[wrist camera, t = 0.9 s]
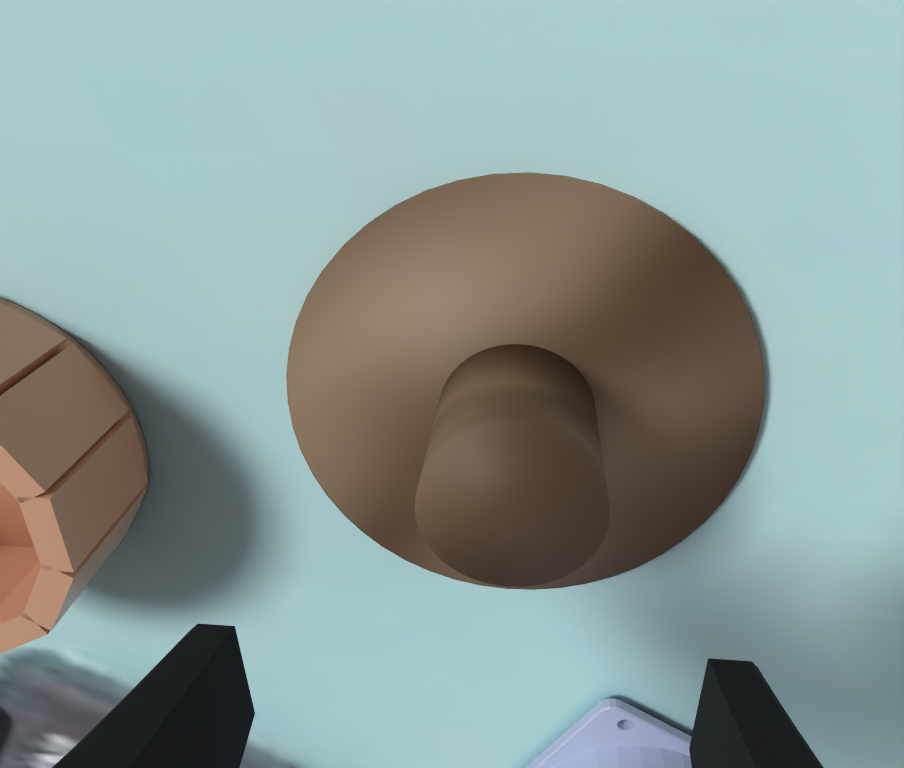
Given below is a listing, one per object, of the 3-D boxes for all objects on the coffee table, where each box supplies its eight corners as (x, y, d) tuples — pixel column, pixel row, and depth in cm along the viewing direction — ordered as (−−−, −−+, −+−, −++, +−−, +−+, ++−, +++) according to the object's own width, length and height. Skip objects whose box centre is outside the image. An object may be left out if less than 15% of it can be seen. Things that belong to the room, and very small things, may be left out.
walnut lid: (867, 343, 17) (972, 451, 13) (574, 631, 22) (581, 770, 18) (431, 59, 15) (390, 81, 11) (228, 452, 20) (151, 564, 16)
